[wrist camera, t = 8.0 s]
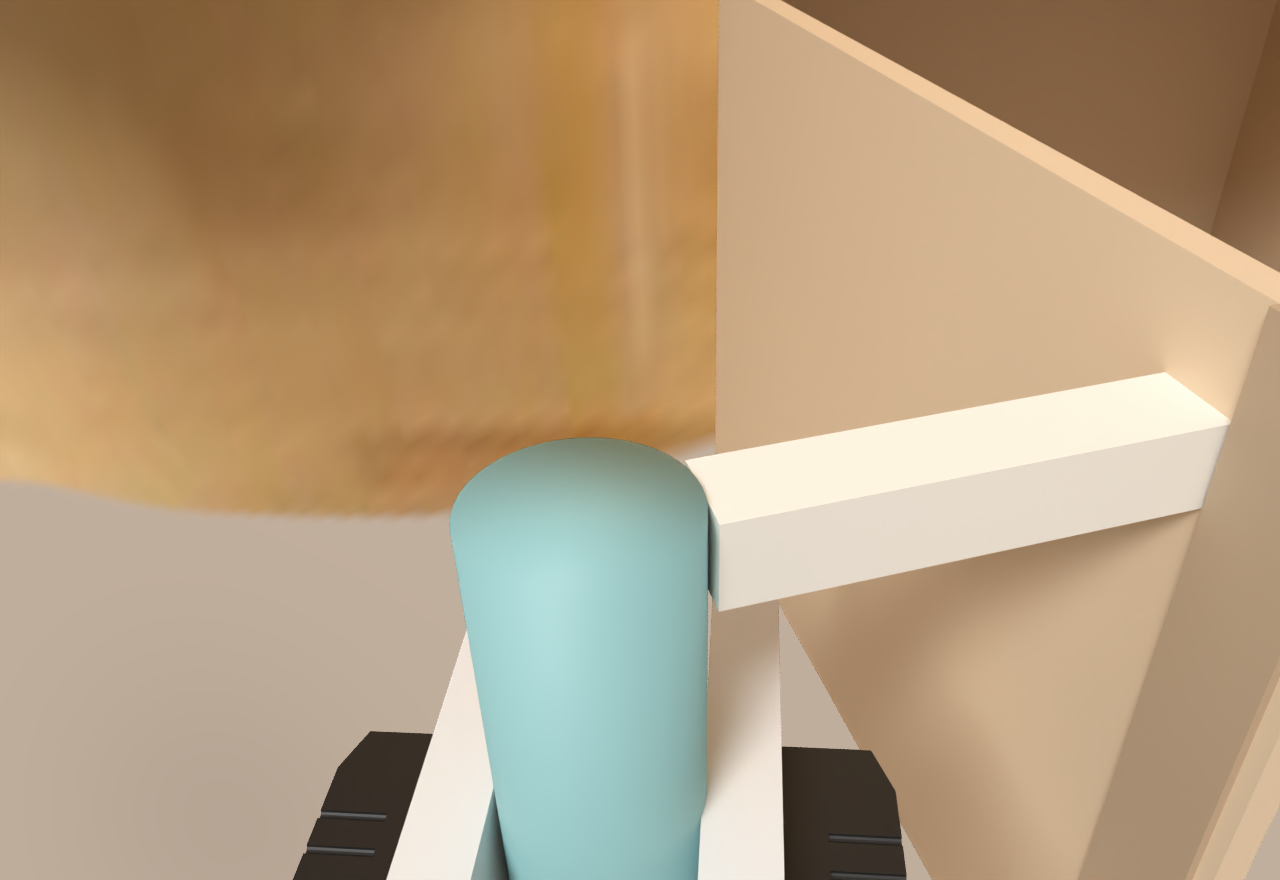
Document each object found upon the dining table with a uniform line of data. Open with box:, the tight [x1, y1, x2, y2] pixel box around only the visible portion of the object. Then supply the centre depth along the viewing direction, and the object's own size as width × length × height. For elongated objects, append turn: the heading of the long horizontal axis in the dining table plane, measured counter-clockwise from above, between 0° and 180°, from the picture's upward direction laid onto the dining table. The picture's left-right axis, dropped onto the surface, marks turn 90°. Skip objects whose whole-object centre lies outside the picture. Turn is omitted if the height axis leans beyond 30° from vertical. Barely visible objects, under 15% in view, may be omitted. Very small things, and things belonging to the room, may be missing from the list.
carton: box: [781, 0, 1280, 273], centre depth 28 cm, size 16×12×13 cm
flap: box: [449, 0, 1280, 880], centre depth 16 cm, size 15×12×7 cm
